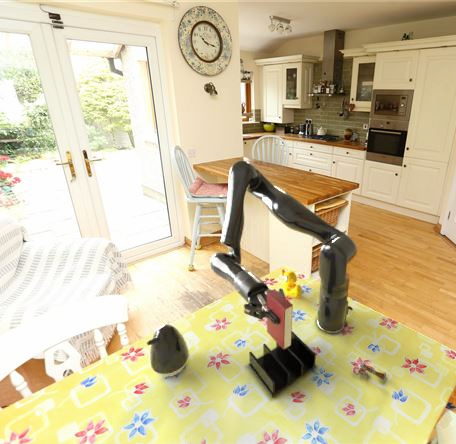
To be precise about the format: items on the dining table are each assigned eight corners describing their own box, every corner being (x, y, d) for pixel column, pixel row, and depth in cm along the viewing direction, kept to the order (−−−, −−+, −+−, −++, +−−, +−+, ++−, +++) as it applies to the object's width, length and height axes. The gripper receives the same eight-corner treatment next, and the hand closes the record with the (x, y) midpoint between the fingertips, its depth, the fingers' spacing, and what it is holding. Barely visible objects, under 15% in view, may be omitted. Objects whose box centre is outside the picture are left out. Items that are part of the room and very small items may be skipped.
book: (274, 327, 85) (274, 288, 79) (291, 345, 79) (292, 304, 73) (266, 331, 84) (266, 292, 78) (283, 350, 78) (284, 308, 72)
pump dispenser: (145, 372, 83) (134, 332, 77) (175, 347, 91) (167, 309, 85) (168, 390, 78) (159, 348, 72) (197, 362, 86) (191, 323, 80)
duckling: (276, 289, 119) (276, 269, 115) (286, 284, 122) (287, 264, 118) (294, 304, 111) (295, 282, 107) (305, 298, 114) (306, 277, 110)
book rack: (290, 341, 94) (290, 328, 92) (315, 367, 85) (316, 353, 83) (248, 366, 85) (248, 352, 83) (272, 397, 76) (272, 383, 74)
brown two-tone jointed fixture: (352, 369, 84) (361, 360, 82) (377, 381, 84) (386, 372, 82) (353, 375, 82) (361, 365, 80) (378, 387, 82) (387, 377, 80)
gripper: (228, 284, 84) (261, 319, 71) (268, 269, 91) (304, 297, 79) (230, 305, 87) (261, 342, 74) (268, 288, 94) (303, 319, 82)
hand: (283, 319), depth 77 cm, fingers closed on book, 2 cm apart
